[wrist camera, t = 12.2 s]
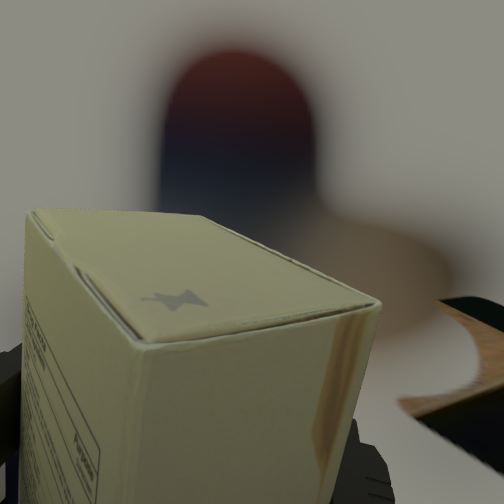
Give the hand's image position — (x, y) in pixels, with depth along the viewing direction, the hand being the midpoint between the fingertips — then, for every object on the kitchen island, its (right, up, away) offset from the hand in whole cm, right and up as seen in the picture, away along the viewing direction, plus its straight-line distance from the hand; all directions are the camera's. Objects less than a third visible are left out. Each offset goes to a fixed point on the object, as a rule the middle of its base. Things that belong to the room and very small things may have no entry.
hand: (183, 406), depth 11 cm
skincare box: (-2, -8, 0) cm, 8 cm away
